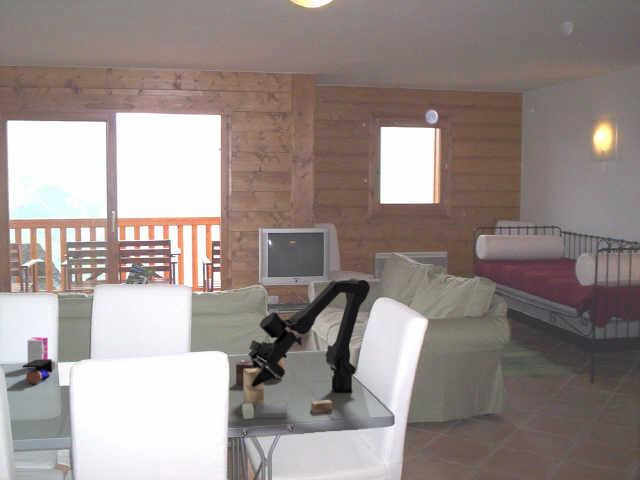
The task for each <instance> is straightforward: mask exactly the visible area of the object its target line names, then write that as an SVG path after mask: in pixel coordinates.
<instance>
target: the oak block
mask: <svg viewBox="0 0 640 480" xmlns="http://www.w3.org/2000/svg"><path fill="white" fill-rule="evenodd" d="M260 371H261V369H260V368H258V367H256V368H248V369H243V372H244V384H243V404H246V403H252V405H253V407H255V405H256V403H265V402H264V401H265V400H264V399H265V397H264V393H265V392H264V383H265V382H263V383H261V384H259V385H257V386H255V387H253V386H252V383H253V381H254V380H255V378H256V377H257V375H258V374H259V372H260Z"/></svg>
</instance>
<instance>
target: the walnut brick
mask: <svg viewBox="0 0 640 480" xmlns="http://www.w3.org/2000/svg"><path fill="white" fill-rule="evenodd" d="M310 403H311V404H310V409H311V411H312V413H314V414H316V413H317V414H319V413H327V412H329V413H330V412H333V402H332V401H331V399H321V400H313V401H312V400H311V402H310Z"/></svg>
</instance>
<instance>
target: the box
mask: <svg viewBox="0 0 640 480" xmlns="http://www.w3.org/2000/svg"><path fill="white" fill-rule="evenodd" d="M251 366H252V361H251V360H239V361H238V362H237V363H236V364H235V382H236V383H235V384H236V385H244V372H243V369H248V368H251Z"/></svg>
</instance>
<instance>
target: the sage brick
mask: <svg viewBox="0 0 640 480" xmlns="http://www.w3.org/2000/svg"><path fill="white" fill-rule="evenodd" d="M241 405H242V406H241V408H242V409H241V413H242V416H243V419H244V420H246V419H247V420H249V419H255V418H254V411H255V407H254V406H253V405H252V403H242V404H241Z"/></svg>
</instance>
